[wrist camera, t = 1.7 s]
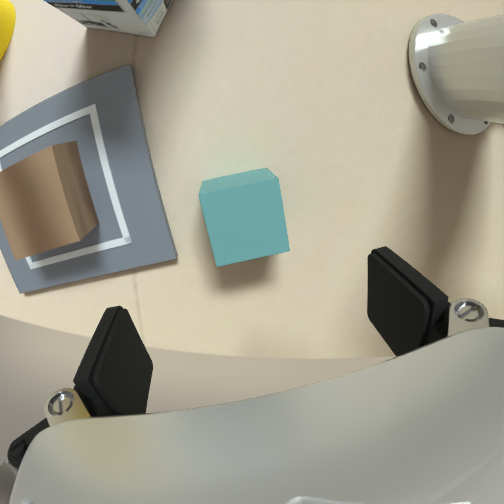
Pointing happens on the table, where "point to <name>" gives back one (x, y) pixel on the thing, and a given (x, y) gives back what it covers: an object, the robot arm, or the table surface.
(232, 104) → the table surface
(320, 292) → the table surface
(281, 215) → the teal block
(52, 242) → the walnut block
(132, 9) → the light bulb box
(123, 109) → the grey mat
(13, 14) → the yellow hollow cylinder
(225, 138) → the table surface
